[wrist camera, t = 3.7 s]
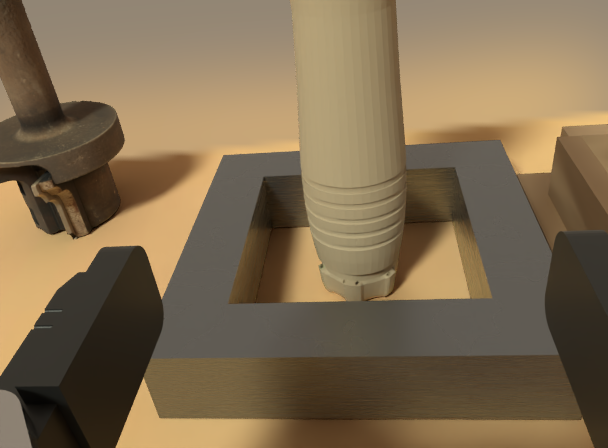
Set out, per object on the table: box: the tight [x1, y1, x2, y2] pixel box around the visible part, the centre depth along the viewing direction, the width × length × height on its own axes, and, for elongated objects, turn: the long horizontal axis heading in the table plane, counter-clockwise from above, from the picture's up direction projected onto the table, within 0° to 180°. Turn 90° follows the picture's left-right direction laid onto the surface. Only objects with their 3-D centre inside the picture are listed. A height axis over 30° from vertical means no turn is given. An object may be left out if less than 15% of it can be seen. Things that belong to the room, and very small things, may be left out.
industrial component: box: [0, 0, 125, 239], centre depth 28 cm, size 9×7×12 cm
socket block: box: [144, 140, 582, 420], centre depth 24 cm, size 14×14×3 cm
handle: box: [290, 0, 407, 301], centre depth 20 cm, size 5×6×15 cm
